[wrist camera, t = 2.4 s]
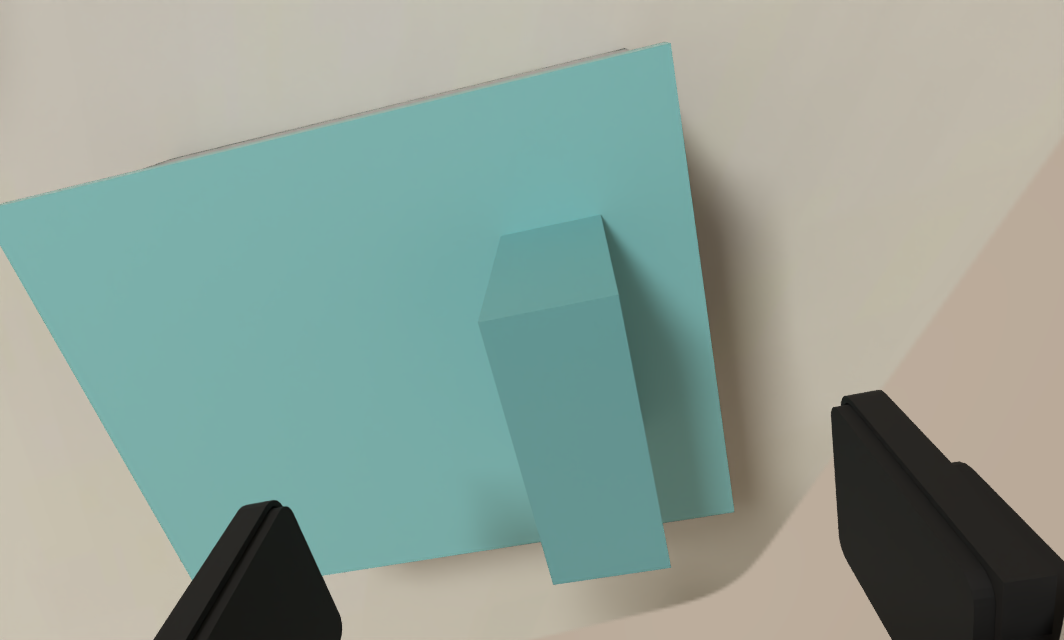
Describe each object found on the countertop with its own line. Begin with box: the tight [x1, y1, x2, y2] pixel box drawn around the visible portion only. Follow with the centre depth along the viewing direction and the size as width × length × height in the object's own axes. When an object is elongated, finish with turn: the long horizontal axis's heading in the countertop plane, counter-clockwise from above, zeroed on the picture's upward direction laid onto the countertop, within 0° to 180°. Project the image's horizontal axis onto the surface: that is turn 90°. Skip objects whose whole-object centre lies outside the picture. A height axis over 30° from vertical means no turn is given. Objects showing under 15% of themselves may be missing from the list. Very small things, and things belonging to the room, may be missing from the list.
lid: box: [0, 42, 734, 585], centre depth 16 cm, size 17×13×7 cm
